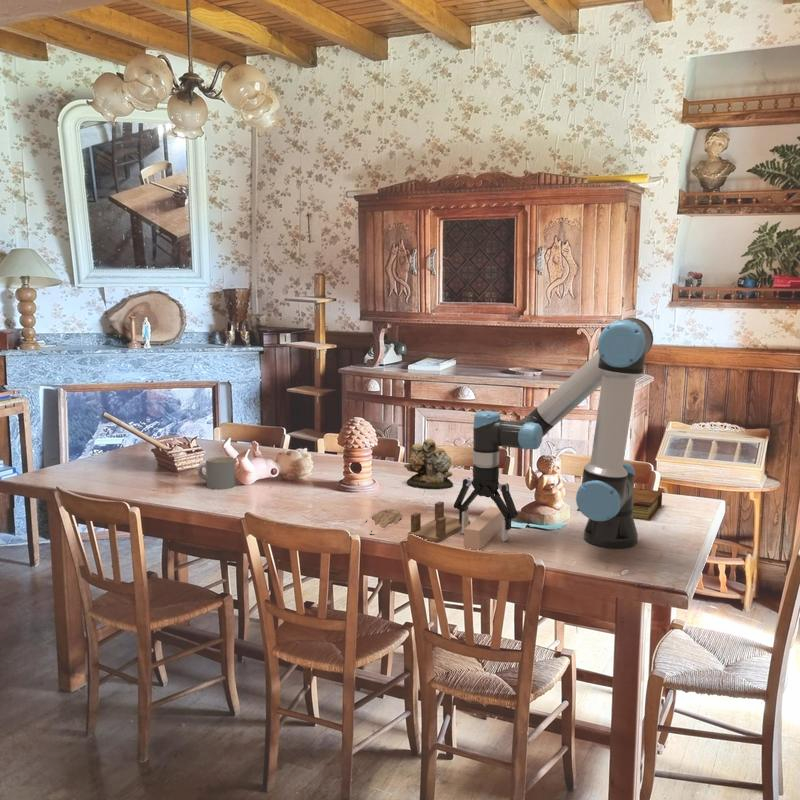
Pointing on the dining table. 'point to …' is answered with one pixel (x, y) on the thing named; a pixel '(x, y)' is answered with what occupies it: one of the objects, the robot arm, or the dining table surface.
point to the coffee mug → (218, 472)
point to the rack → (436, 525)
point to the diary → (645, 503)
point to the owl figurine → (429, 466)
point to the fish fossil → (386, 517)
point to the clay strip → (483, 528)
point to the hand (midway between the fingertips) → (484, 536)
